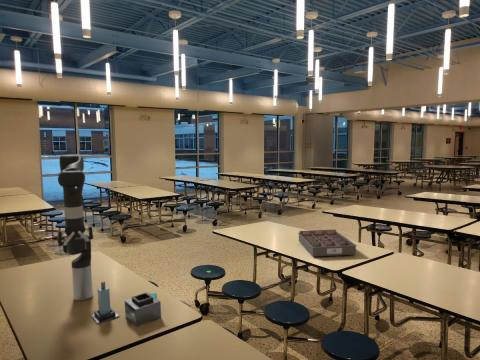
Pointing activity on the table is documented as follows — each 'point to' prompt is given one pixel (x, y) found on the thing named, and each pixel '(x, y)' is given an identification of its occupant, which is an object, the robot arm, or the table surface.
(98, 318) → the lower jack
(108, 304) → the plug
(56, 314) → the table surface
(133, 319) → the box with square opening
